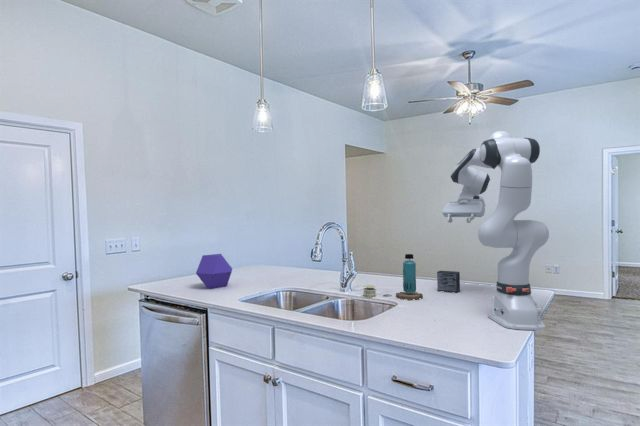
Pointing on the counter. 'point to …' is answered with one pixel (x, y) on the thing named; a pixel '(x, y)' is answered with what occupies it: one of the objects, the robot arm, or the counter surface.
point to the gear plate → (409, 295)
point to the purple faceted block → (214, 271)
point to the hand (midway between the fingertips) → (458, 221)
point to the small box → (448, 281)
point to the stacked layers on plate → (369, 291)
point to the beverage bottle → (409, 274)
